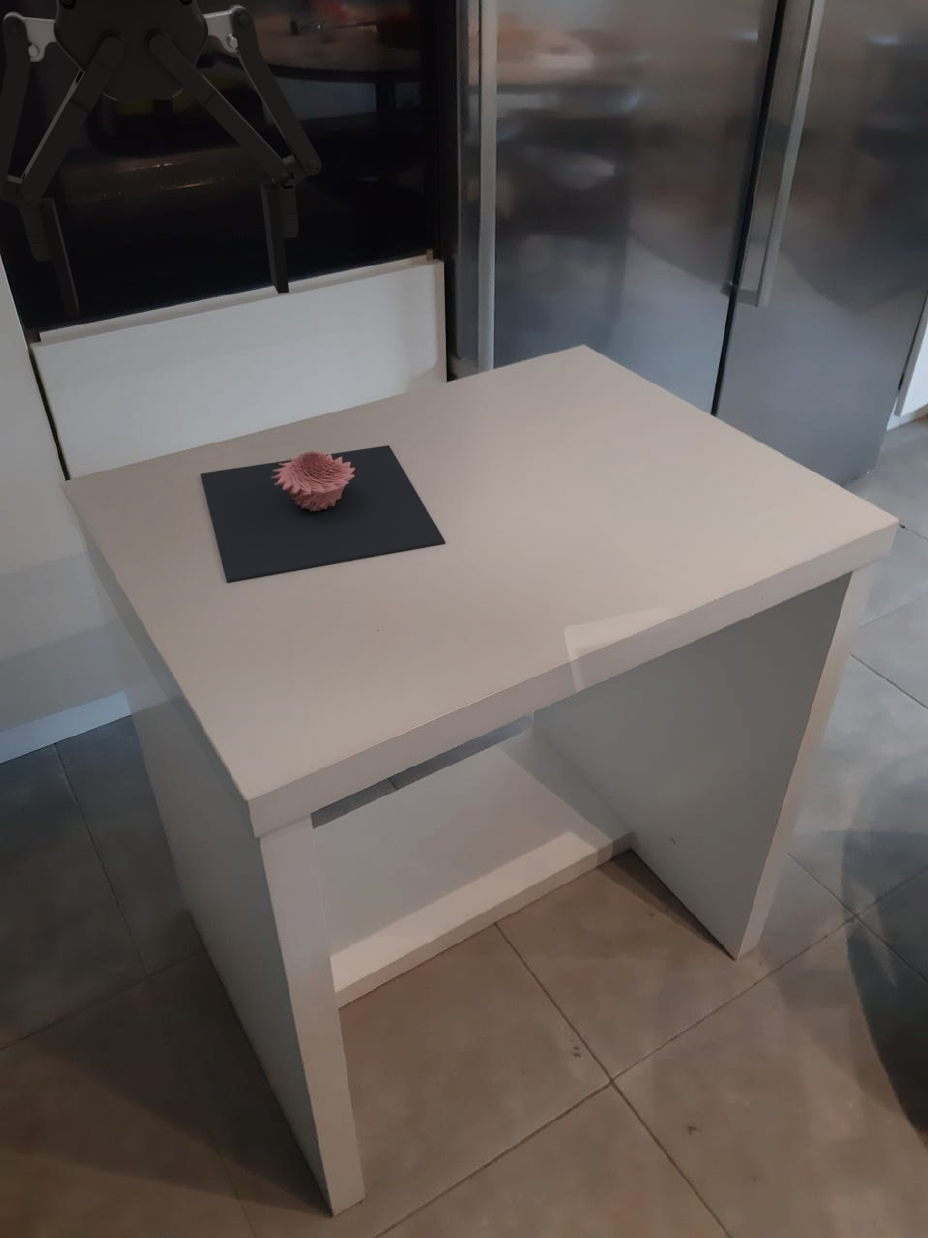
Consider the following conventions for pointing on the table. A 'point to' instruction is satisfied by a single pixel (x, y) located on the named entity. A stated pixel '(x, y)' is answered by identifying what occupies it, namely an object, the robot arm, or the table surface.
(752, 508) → the table surface
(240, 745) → the table surface
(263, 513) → the mat
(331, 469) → the flower
